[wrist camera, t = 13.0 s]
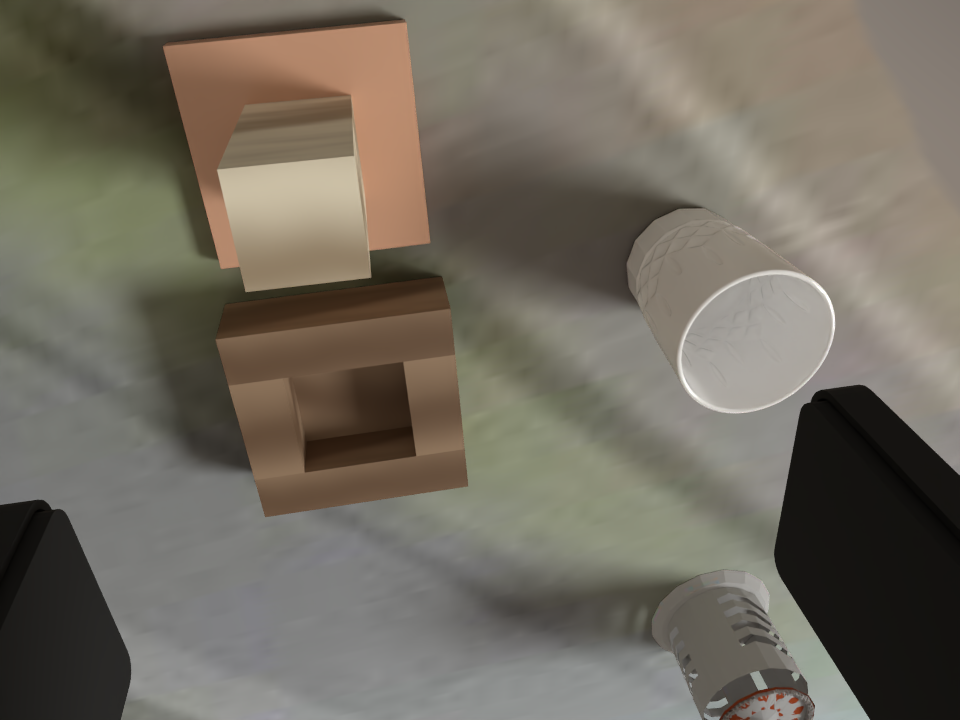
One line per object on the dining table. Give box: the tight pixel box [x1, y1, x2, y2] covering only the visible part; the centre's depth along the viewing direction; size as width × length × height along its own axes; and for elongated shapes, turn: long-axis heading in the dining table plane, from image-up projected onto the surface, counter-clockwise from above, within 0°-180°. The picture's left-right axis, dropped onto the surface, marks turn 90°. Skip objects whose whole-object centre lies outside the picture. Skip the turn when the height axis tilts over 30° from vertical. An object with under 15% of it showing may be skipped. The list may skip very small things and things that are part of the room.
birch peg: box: [217, 95, 371, 292], centre depth 35 cm, size 5×5×10 cm
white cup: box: [626, 208, 835, 413], centre depth 42 cm, size 8×8×10 cm
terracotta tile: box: [163, 19, 430, 269], centre depth 40 cm, size 11×11×1 cm
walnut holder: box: [215, 277, 468, 517], centre depth 46 cm, size 12×12×4 cm
